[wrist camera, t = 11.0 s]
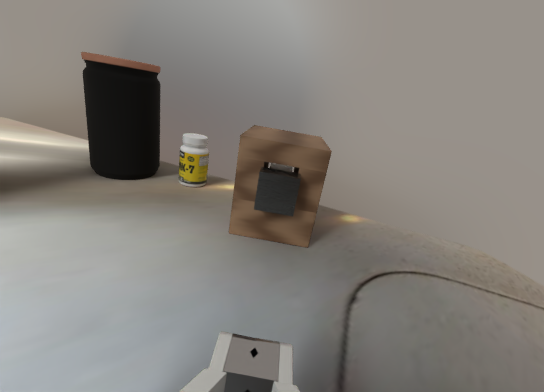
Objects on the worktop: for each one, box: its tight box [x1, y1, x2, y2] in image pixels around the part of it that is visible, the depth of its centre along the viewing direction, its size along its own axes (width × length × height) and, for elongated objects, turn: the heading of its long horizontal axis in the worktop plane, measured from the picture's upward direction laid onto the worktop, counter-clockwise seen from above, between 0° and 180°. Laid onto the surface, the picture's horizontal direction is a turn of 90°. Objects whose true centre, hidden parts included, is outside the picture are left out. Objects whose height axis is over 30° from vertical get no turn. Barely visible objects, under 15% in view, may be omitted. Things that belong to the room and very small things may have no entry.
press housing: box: [229, 125, 331, 248], centre depth 36 cm, size 10×11×12 cm
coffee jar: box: [81, 52, 160, 180], centre depth 44 cm, size 11×11×18 cm
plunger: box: [254, 163, 301, 217], centre depth 34 cm, size 4×12×4 cm, turn 176°
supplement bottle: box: [179, 133, 209, 187], centre depth 46 cm, size 5×5×8 cm
